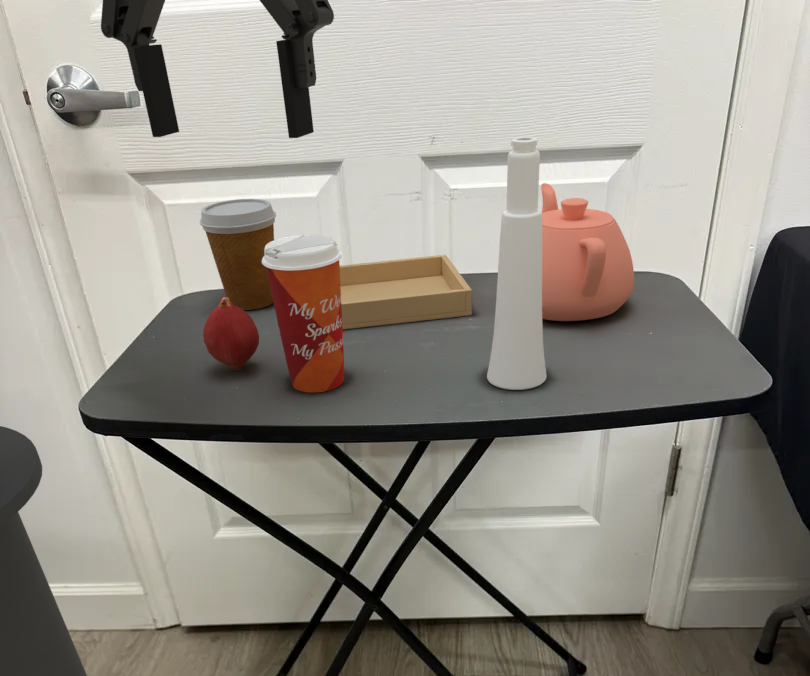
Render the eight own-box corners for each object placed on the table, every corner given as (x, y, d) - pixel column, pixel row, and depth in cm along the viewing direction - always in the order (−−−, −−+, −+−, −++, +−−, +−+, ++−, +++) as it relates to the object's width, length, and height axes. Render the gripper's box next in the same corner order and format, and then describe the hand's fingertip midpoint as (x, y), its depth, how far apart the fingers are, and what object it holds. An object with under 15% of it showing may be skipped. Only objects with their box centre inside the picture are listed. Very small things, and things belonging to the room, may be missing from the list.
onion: (201, 369, 85) (185, 297, 81) (246, 354, 88) (233, 284, 84) (227, 384, 82) (212, 310, 77) (273, 368, 84) (261, 295, 80)
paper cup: (307, 404, 77) (287, 260, 68) (267, 381, 82) (244, 245, 73) (370, 380, 80) (358, 241, 72) (328, 360, 85) (312, 228, 77)
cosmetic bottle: (557, 383, 77) (573, 139, 65) (503, 395, 76) (509, 148, 63) (528, 361, 82) (537, 130, 69) (476, 373, 80) (477, 138, 68)
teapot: (487, 283, 104) (487, 184, 97) (595, 272, 105) (604, 174, 98) (528, 343, 86) (532, 228, 79) (658, 329, 87) (674, 215, 80)
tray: (312, 332, 93) (309, 307, 91) (305, 292, 105) (302, 269, 103) (472, 315, 94) (472, 289, 93) (446, 277, 107) (446, 254, 105)
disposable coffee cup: (264, 285, 108) (249, 194, 101) (302, 300, 102) (289, 204, 95) (203, 303, 104) (183, 208, 97) (239, 320, 98) (221, 220, 90)
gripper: (360, -236, 51) (384, 127, 63) (71, -182, 59) (142, 127, 72) (303, -259, 45) (342, 144, 57) (-5, -196, 54) (86, 141, 66)
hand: (231, 135), depth 65 cm, fingers open, 13 cm apart
